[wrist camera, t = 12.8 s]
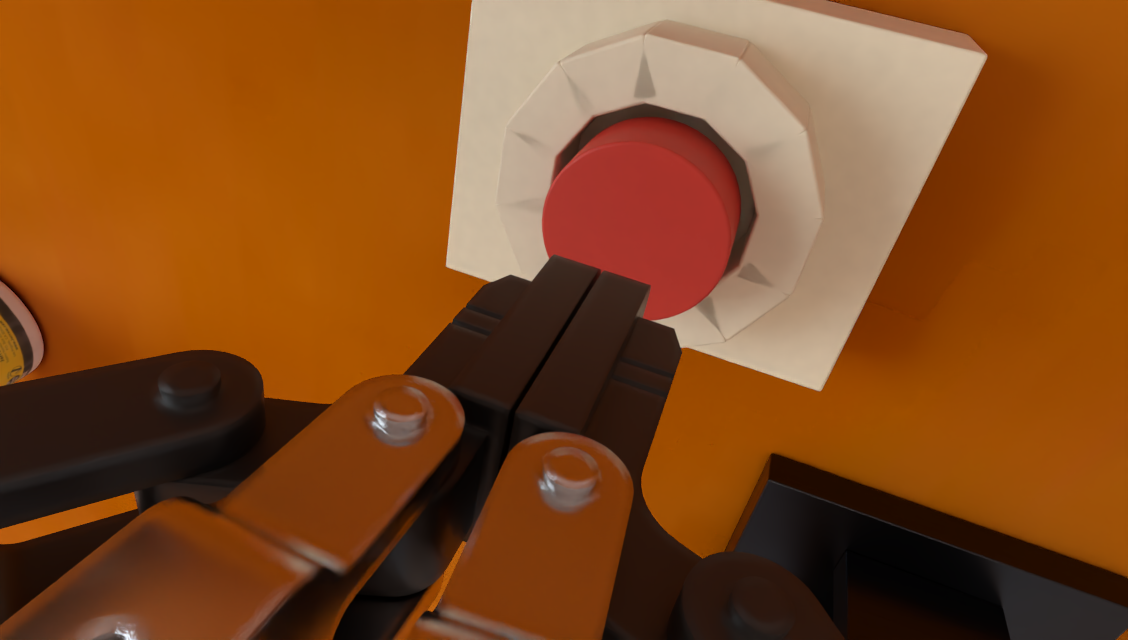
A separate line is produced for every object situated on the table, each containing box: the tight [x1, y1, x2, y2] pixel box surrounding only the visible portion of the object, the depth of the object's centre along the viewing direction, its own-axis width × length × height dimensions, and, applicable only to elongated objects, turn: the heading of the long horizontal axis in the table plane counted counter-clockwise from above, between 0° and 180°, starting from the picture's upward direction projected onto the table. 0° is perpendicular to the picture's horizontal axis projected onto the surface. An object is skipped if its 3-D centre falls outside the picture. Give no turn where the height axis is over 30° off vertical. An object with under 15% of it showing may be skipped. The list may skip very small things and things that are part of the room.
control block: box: [446, 0, 987, 391], centre depth 16 cm, size 10×8×4 cm
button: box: [542, 117, 741, 321], centre depth 14 cm, size 4×4×2 cm
